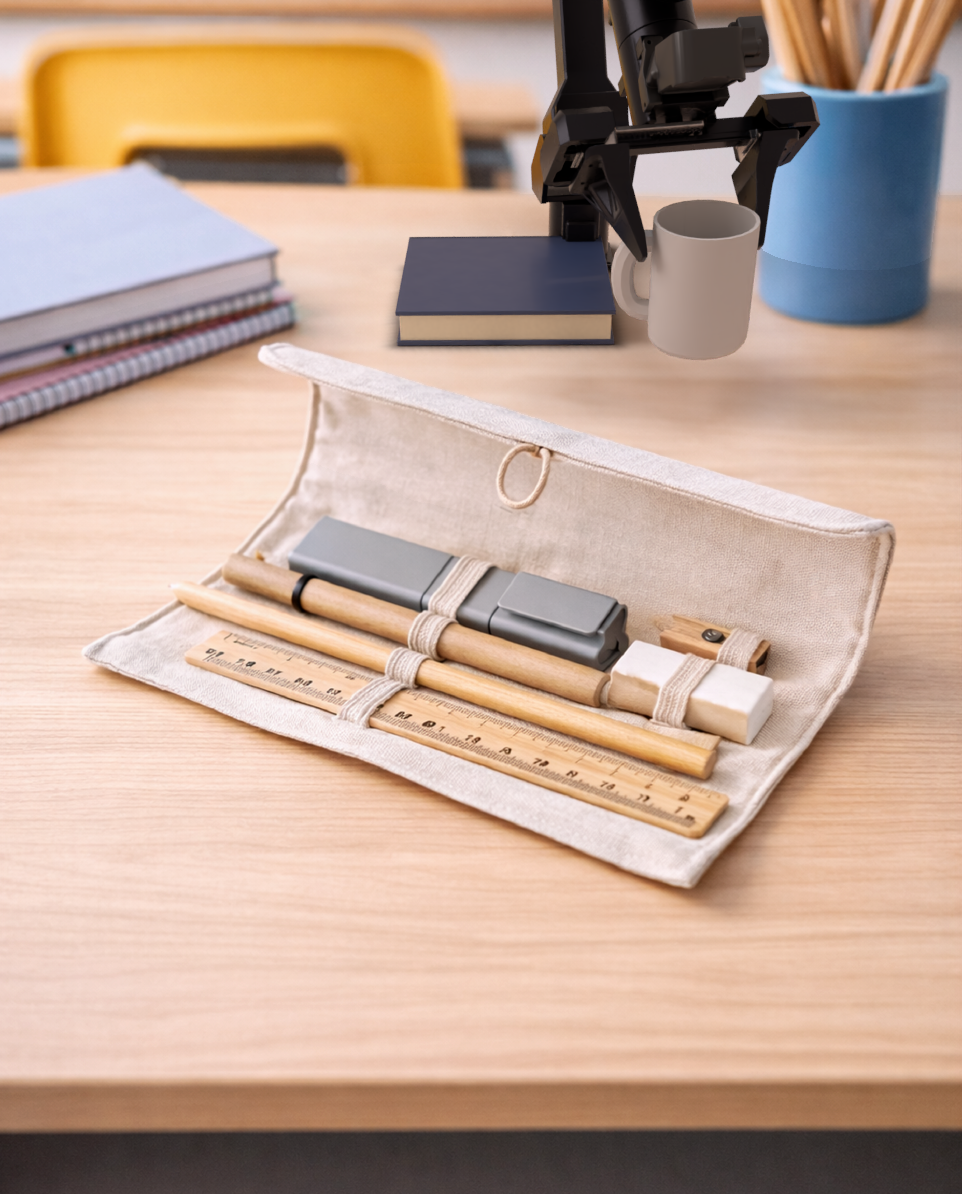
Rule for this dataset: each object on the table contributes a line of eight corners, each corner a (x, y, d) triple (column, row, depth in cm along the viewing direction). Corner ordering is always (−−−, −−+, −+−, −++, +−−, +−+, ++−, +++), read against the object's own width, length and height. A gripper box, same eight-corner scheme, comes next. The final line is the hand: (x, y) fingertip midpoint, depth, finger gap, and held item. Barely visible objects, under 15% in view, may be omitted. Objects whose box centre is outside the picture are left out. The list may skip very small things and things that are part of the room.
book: (410, 267, 114) (409, 236, 112) (599, 266, 113) (601, 235, 112) (397, 345, 99) (395, 311, 97) (614, 344, 99) (615, 310, 97)
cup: (743, 365, 83) (757, 243, 78) (601, 355, 85) (605, 234, 80) (749, 320, 89) (763, 202, 83) (616, 311, 91) (620, 195, 85)
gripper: (555, -24, 74) (601, 210, 72) (831, -39, 78) (882, 184, 76) (521, 79, 85) (560, 285, 83) (764, 62, 89) (807, 260, 87)
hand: (701, 253), depth 82 cm, fingers closed on cup, 8 cm apart
